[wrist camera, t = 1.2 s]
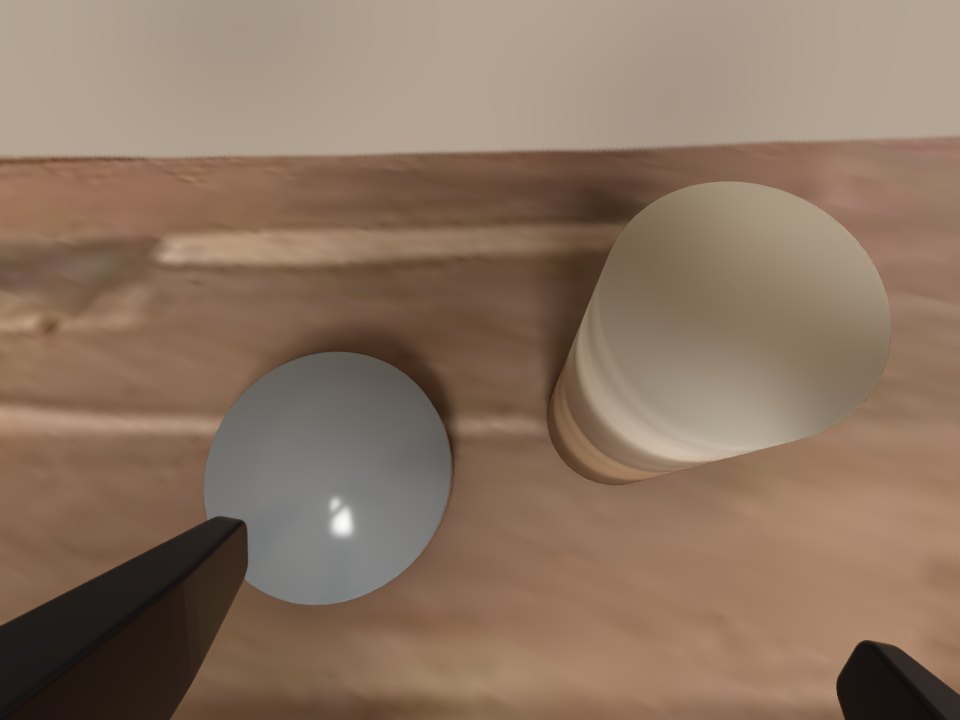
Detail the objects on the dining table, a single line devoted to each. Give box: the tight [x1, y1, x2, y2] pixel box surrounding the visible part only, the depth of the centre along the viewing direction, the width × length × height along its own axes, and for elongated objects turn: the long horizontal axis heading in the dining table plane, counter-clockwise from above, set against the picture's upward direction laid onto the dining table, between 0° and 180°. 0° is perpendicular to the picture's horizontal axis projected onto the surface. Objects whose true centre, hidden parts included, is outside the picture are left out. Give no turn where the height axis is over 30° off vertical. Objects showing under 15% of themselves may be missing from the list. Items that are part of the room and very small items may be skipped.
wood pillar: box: [547, 181, 891, 485], centre depth 16 cm, size 6×6×13 cm
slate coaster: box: [204, 352, 453, 605], centre depth 22 cm, size 10×10×2 cm
